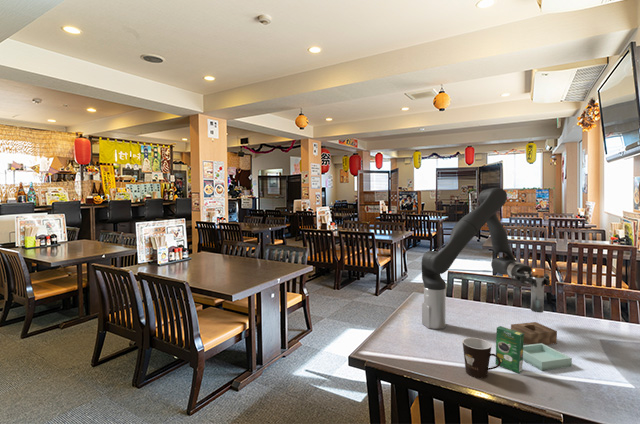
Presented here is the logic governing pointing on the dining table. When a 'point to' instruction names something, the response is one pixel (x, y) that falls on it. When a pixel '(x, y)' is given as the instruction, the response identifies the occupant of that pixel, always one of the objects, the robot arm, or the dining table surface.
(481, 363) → the coffee mug
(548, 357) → the tray
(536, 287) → the pin
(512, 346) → the coffee box
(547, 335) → the block
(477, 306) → the dining table surface
